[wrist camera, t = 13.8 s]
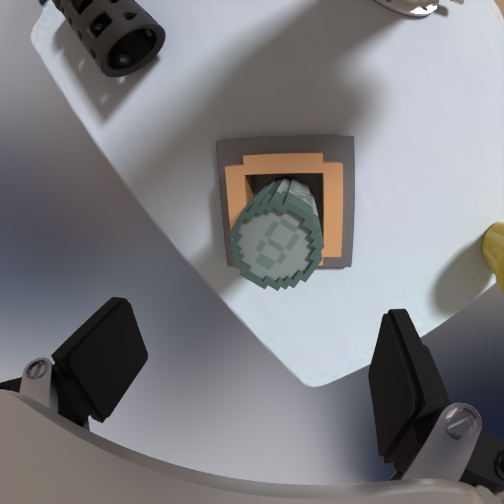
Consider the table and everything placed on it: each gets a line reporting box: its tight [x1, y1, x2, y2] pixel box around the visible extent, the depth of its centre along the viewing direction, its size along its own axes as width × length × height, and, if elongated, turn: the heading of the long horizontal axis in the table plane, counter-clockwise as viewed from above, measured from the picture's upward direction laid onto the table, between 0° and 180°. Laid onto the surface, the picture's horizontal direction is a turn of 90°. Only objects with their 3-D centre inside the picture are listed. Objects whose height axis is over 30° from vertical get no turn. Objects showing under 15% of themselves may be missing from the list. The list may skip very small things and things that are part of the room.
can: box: [228, 176, 324, 291], centre depth 25 cm, size 6×6×15 cm
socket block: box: [216, 136, 355, 267], centre depth 30 cm, size 16×16×5 cm
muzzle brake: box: [52, 0, 166, 77], centre depth 21 cm, size 10×28×10 cm, turn 36°
